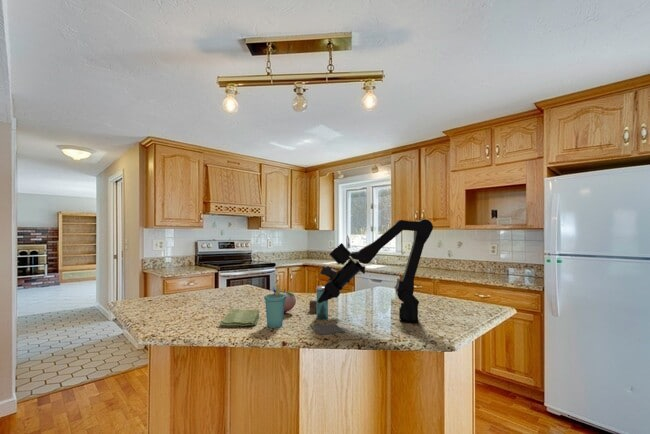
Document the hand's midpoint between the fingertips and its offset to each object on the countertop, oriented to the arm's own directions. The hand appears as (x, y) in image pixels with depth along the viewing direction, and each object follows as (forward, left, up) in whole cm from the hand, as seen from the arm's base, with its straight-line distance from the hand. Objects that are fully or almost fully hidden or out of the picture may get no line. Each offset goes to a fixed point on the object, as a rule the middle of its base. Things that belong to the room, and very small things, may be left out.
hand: (318, 300), depth 128 cm
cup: (+12, +16, -7) cm, 21 cm away
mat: (-7, +14, -7) cm, 17 cm away
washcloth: (+27, +13, -7) cm, 30 cm away
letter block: (+5, -10, -7) cm, 13 cm away
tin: (-1, 0, -7) cm, 7 cm away
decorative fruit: (+16, -2, -7) cm, 17 cm away
